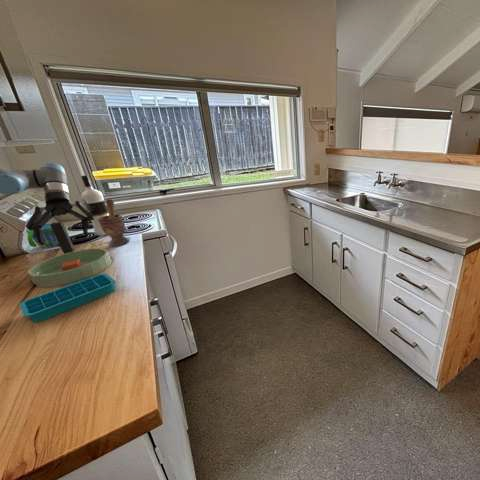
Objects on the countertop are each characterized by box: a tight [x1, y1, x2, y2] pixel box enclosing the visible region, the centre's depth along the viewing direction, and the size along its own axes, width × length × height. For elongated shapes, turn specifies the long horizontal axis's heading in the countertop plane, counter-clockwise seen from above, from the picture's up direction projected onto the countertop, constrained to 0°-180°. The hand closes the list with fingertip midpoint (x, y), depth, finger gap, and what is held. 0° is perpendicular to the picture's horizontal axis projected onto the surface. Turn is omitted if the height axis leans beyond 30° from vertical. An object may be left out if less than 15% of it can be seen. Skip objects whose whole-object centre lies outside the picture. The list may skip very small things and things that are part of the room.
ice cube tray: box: [19, 272, 117, 323], centre depth 77 cm, size 12×20×3 cm, turn 143°
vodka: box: [80, 175, 109, 237], centre depth 130 cm, size 9×9×30 cm
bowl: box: [27, 247, 113, 288], centre depth 94 cm, size 22×22×5 cm
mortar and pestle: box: [98, 198, 130, 247], centre depth 118 cm, size 12×9×20 cm
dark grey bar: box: [50, 221, 77, 254], centre depth 103 cm, size 3×3×16 cm
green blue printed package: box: [25, 222, 60, 249], centre depth 119 cm, size 16×10×10 cm
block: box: [61, 259, 83, 271], centre depth 92 cm, size 4×4×4 cm
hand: (64, 238), depth 103 cm, fingers open, 13 cm apart
